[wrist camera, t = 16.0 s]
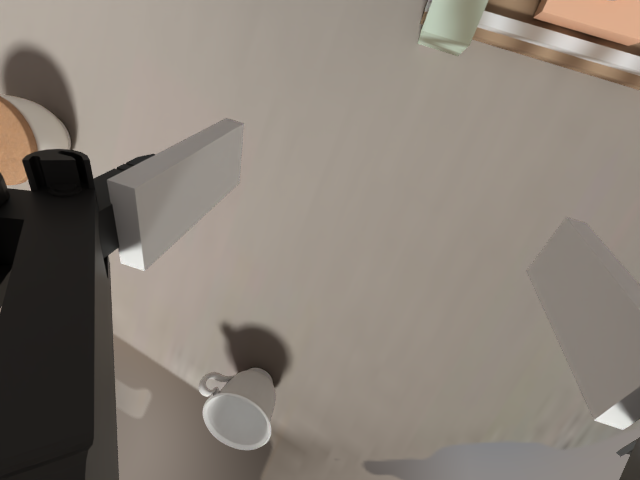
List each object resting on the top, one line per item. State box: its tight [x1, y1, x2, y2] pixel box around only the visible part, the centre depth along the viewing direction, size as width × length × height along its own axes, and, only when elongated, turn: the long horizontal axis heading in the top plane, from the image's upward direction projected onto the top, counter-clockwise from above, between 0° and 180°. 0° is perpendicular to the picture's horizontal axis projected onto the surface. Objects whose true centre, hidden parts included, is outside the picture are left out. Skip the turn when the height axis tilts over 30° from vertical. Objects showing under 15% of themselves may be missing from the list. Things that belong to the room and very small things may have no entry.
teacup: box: [199, 368, 276, 450], centre depth 60 cm, size 12×15×10 cm
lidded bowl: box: [0, 94, 71, 185], centre depth 51 cm, size 13×13×11 cm
